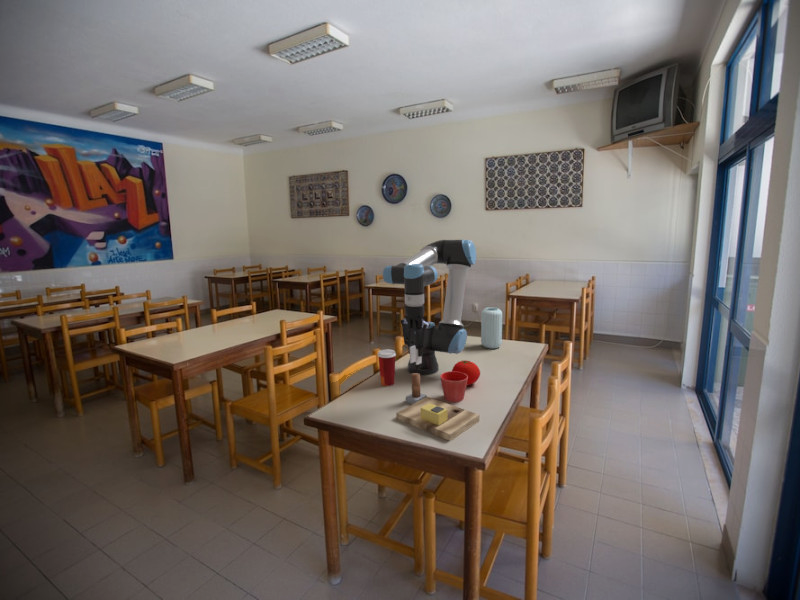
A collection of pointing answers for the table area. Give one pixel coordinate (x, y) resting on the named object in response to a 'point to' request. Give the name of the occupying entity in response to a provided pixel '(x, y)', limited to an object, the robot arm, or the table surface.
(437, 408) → the block
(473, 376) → the tomato
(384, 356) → the coffee cup
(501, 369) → the table surface
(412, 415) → the subfloor panel
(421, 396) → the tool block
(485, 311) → the vase
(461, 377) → the flower pot
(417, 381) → the brown rounded cylinder
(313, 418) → the table surface
